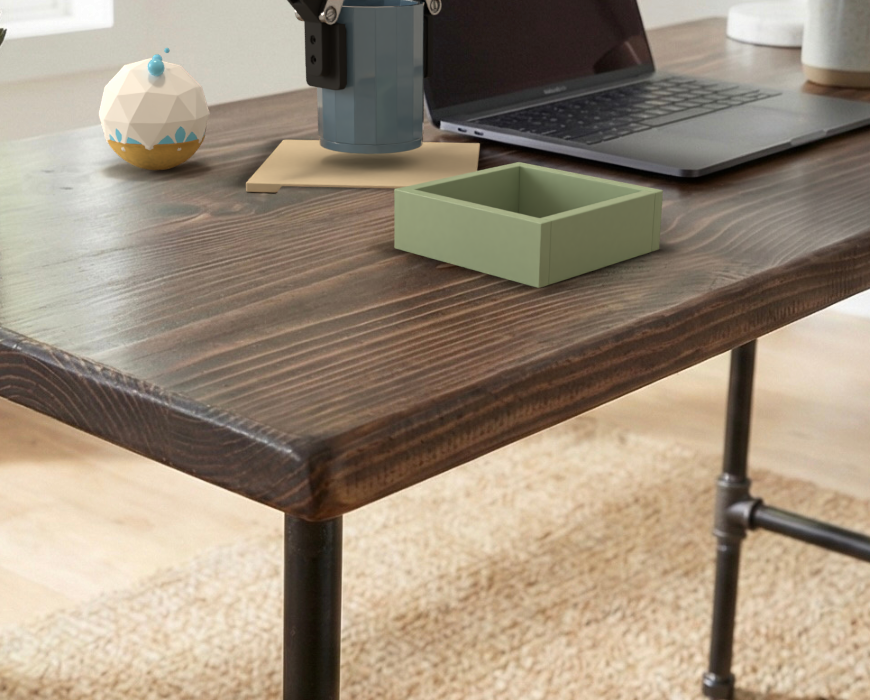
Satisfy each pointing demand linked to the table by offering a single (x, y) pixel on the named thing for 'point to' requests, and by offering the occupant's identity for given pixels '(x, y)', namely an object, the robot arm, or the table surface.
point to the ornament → (154, 114)
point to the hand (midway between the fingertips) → (370, 79)
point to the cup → (377, 80)
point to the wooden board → (360, 166)
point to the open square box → (527, 222)
